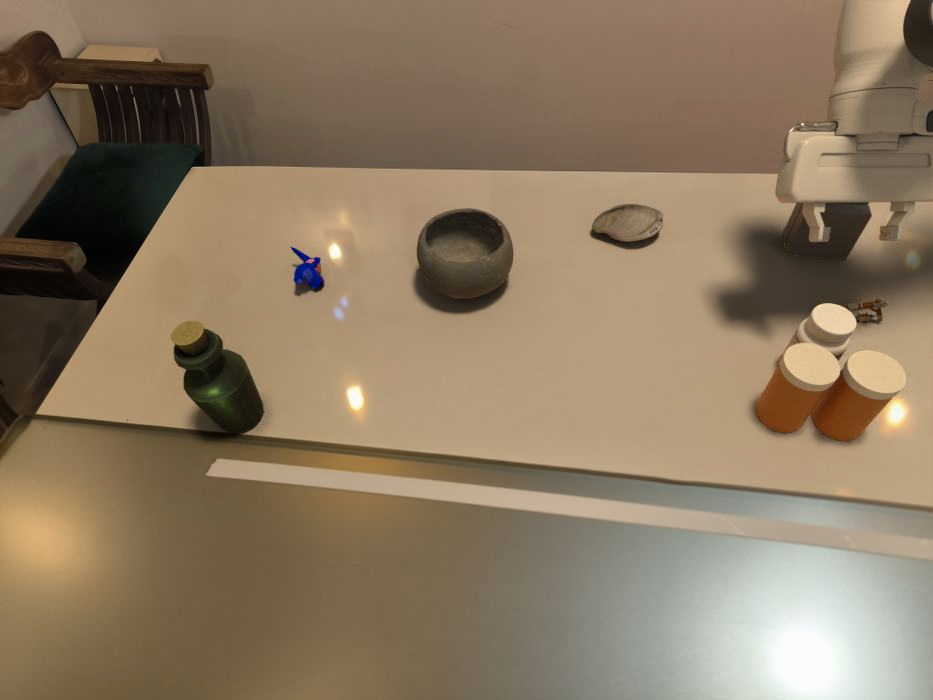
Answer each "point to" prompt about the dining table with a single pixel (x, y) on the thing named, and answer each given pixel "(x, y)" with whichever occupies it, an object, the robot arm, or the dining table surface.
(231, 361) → the potion bottle
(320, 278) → the figurine
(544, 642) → the dining table surface
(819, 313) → the pill bottle
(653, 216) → the seashell
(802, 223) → the grey boxes
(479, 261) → the bowl
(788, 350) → the matching pill bottles
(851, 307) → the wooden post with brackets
